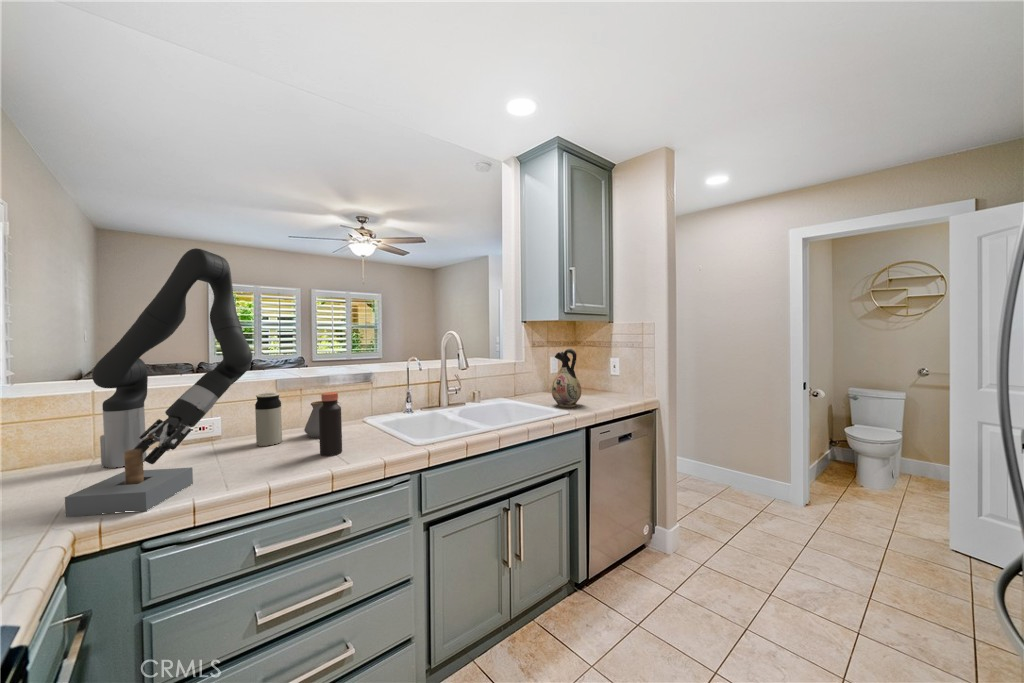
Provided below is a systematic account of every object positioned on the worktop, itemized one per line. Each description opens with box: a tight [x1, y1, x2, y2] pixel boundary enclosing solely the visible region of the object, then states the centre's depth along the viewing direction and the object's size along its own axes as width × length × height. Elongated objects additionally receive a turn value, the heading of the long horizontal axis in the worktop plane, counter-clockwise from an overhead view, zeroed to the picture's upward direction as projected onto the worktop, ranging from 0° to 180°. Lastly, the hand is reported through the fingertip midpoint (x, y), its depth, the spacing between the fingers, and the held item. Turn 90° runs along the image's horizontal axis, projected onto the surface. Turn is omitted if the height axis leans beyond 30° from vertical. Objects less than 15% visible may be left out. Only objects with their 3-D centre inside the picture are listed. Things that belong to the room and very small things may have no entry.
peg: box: [124, 449, 144, 485], centre depth 96 cm, size 3×3×12 cm
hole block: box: [64, 466, 194, 518], centre depth 96 cm, size 16×16×4 cm
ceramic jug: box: [551, 348, 582, 408], centre depth 203 cm, size 17×15×30 cm
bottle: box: [318, 391, 343, 457], centre depth 130 cm, size 7×7×20 cm
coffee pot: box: [303, 400, 340, 438], centre depth 149 cm, size 21×12×15 cm, turn 48°
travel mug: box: [254, 392, 283, 447], centre depth 142 cm, size 8×8×18 cm
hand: (140, 459), depth 97 cm, fingers open, 8 cm apart
